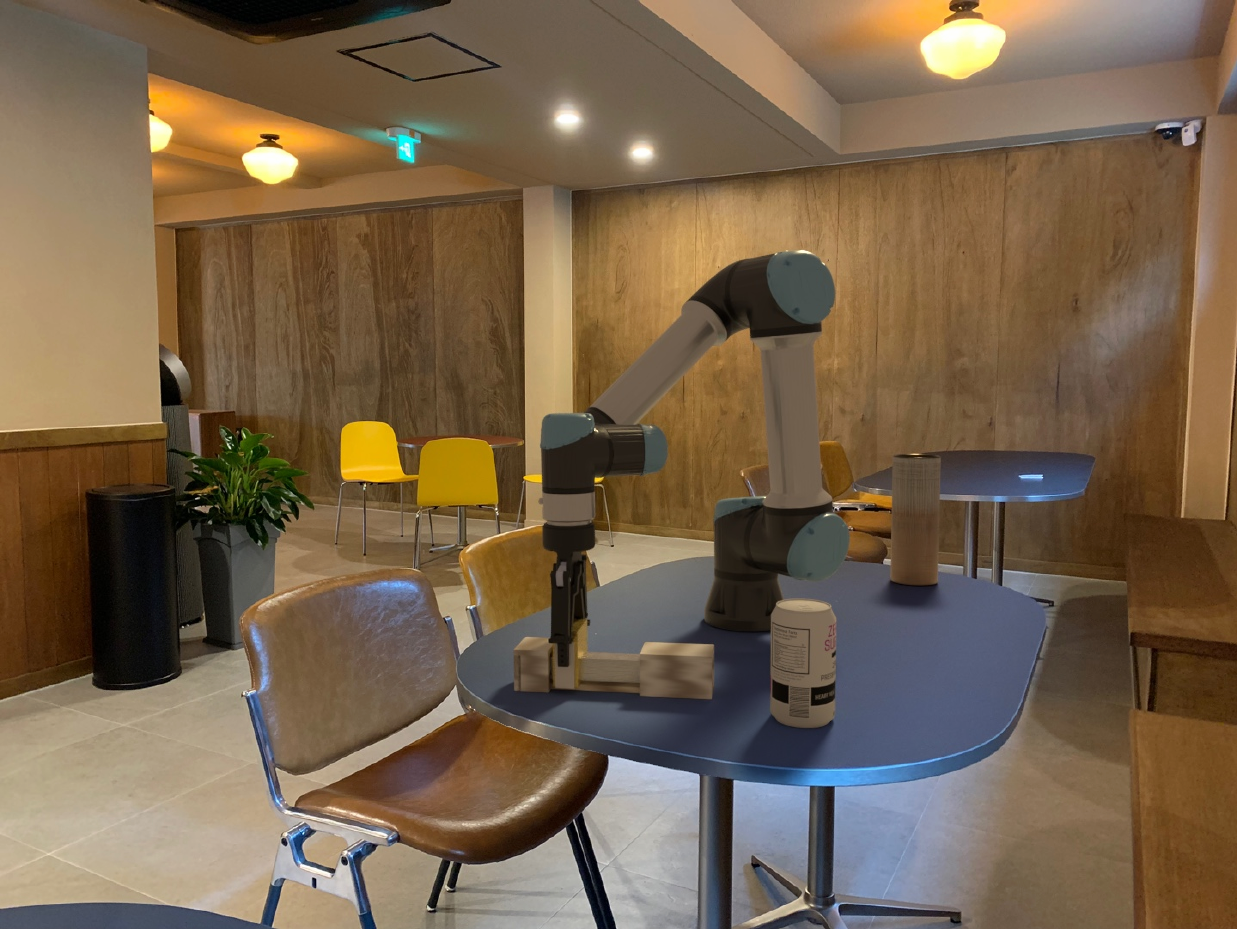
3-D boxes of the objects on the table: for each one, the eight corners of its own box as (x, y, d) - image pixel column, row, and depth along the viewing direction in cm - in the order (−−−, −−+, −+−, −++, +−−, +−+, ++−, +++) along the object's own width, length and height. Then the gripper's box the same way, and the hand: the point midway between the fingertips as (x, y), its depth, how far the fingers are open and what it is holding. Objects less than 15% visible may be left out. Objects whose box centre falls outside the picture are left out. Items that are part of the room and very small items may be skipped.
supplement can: (763, 708, 121) (764, 598, 120) (823, 706, 122) (825, 596, 121) (779, 731, 113) (780, 613, 112) (843, 729, 114) (845, 611, 113)
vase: (944, 586, 194) (947, 457, 191) (897, 586, 194) (900, 457, 192) (929, 576, 204) (931, 453, 201) (884, 576, 204) (887, 453, 201)
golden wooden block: (662, 675, 132) (662, 621, 132) (657, 691, 125) (657, 634, 125) (533, 669, 135) (532, 617, 135) (520, 684, 128) (519, 629, 128)
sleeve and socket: (714, 684, 131) (714, 644, 130) (711, 700, 124) (711, 657, 124) (526, 676, 135) (525, 636, 135) (514, 690, 129) (513, 649, 128)
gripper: (558, 511, 139) (560, 657, 141) (525, 532, 120) (528, 701, 122) (606, 512, 138) (607, 659, 140) (580, 533, 118) (583, 703, 120)
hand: (570, 678), depth 131 cm, fingers closed on golden wooden block, 7 cm apart
